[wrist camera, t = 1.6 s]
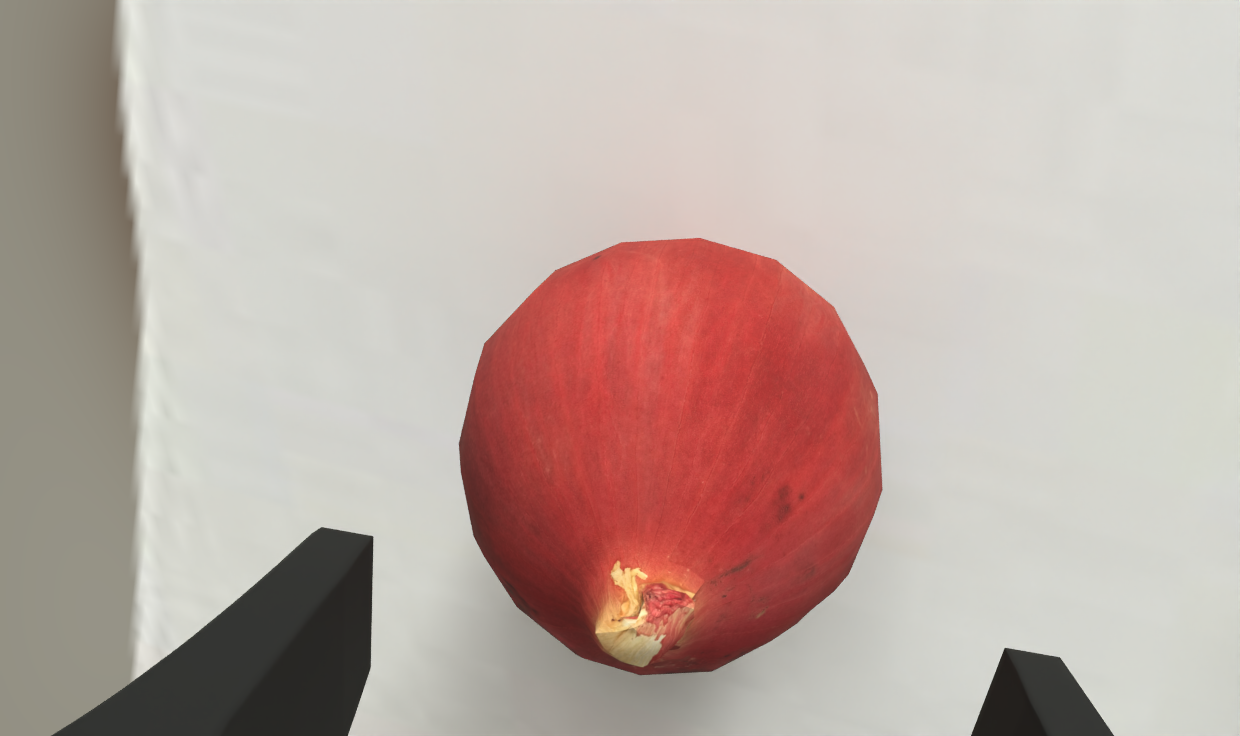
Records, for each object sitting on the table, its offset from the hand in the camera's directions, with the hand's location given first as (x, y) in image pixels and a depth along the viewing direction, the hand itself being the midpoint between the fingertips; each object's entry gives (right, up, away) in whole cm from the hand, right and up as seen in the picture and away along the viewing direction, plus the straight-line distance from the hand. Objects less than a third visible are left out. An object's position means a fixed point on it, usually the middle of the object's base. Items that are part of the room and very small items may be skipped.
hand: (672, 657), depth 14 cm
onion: (+1, +4, +6) cm, 8 cm away
